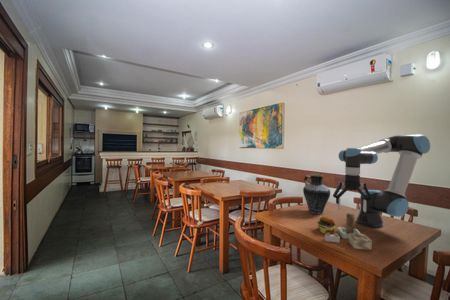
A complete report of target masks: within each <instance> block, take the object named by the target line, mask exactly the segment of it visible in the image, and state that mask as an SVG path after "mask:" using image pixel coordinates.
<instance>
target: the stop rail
mask: <svg viewBox="0 0 450 300" xmlns="http://www.w3.org/2000/svg"><path fill="white" fill-rule="evenodd" d="M340 238H341V236H340V234H339V233H334V234H331V233H325V234H324V240H325V242H333V243H339V244H340V242H341V241H340V240H341V239H340Z"/></svg>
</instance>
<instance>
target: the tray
mask: <svg viewBox="0 0 450 300" xmlns="http://www.w3.org/2000/svg"><path fill="white" fill-rule="evenodd" d="M337 232H338V234H339V236H340V238H341V239H344V240H345V239H347V240H349V234H346V227H339V226H338V227H337ZM354 234H362V233H361V232H360V231H359V230H358V229H357V228H354Z"/></svg>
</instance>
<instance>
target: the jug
mask: <svg viewBox="0 0 450 300" xmlns="http://www.w3.org/2000/svg"><path fill="white" fill-rule="evenodd" d="M308 179H310V180H311V182H310V183H309V181H308ZM323 179H324V175H322V174H318V173H311V174H310V175H308V174H307V175H305V176H304V178H303V180H304V187H303V189H302V192H303V196H304V199H305V201H306V205H307V207H308V208H307V210H308V212H309V213H311V214H314V215H322V214H323V213H324V211H325V208H326V205H327V203H328V202H329V199H330V196H331V190H330V188H329V187H328V186H326V185H324V183H323Z"/></svg>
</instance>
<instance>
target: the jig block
mask: <svg viewBox="0 0 450 300" xmlns="http://www.w3.org/2000/svg"><path fill="white" fill-rule="evenodd" d="M348 243H350V245H351V246H352V248H354V249H358V250H365V251H372V247H373V245H372V244H373V241H372V240H371V239H370V237H369V236H367V235H366V234H363V233H361V234H354V233H349V239H348Z"/></svg>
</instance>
